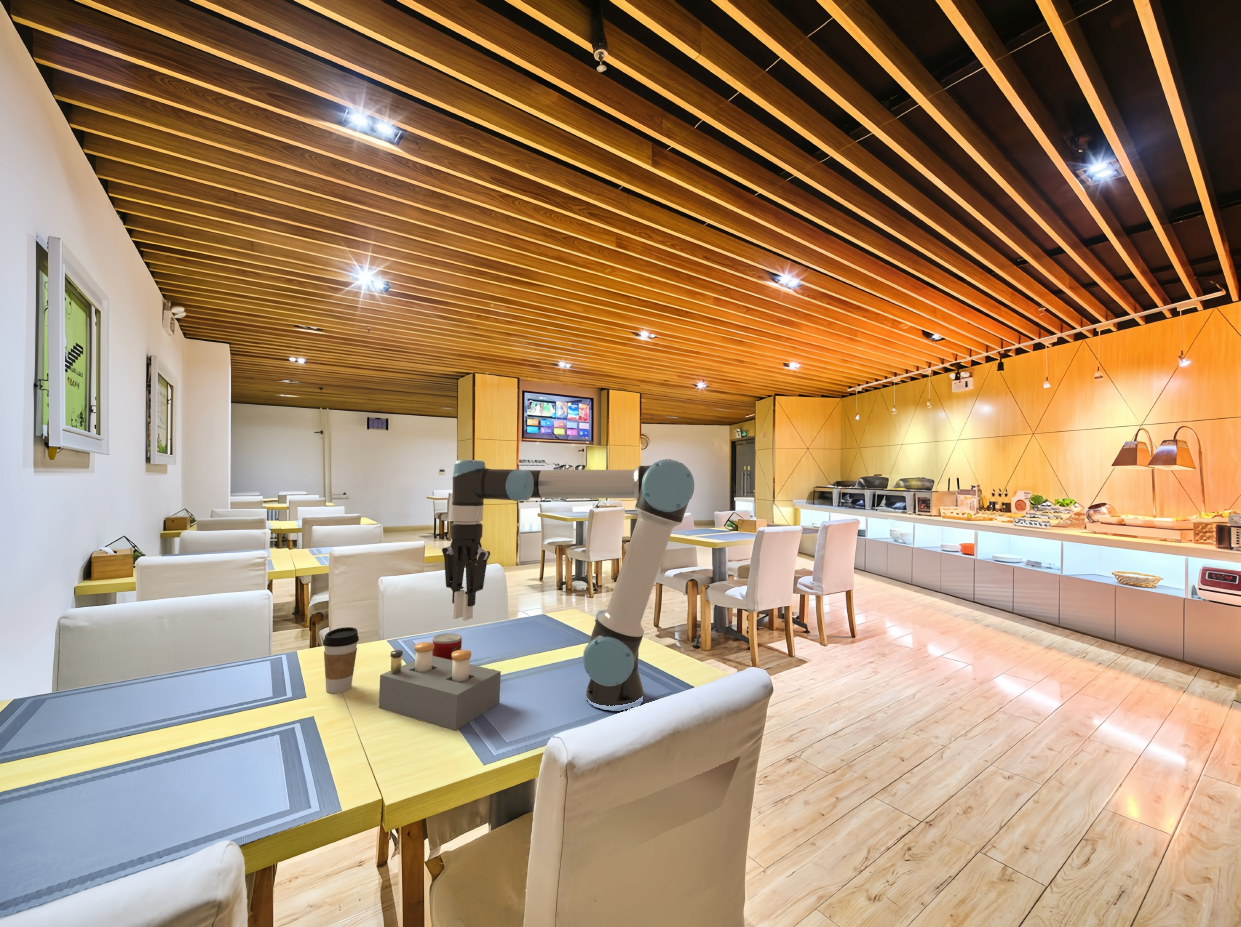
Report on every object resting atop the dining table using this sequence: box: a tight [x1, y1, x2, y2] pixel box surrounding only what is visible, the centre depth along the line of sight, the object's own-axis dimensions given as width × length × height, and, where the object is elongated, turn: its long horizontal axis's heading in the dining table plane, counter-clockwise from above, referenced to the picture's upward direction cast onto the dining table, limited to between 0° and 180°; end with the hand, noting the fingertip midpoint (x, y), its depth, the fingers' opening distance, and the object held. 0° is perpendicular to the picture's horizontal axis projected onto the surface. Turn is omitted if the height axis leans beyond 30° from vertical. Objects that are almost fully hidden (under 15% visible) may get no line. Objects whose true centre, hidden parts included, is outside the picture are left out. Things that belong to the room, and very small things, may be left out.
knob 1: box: [414, 641, 434, 674], centre depth 131 cm, size 5×5×8 cm
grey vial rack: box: [378, 656, 502, 732], centre depth 128 cm, size 24×16×8 cm, turn 66°
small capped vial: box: [390, 649, 404, 674], centre depth 128 cm, size 3×3×5 cm
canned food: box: [432, 632, 463, 660], centre depth 147 cm, size 8×8×11 cm
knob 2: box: [452, 649, 472, 683], centre depth 126 cm, size 5×5×8 cm
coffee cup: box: [322, 626, 360, 694], centre depth 136 cm, size 8×8×15 cm
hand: (463, 618), depth 126 cm, fingers open, 2 cm apart
